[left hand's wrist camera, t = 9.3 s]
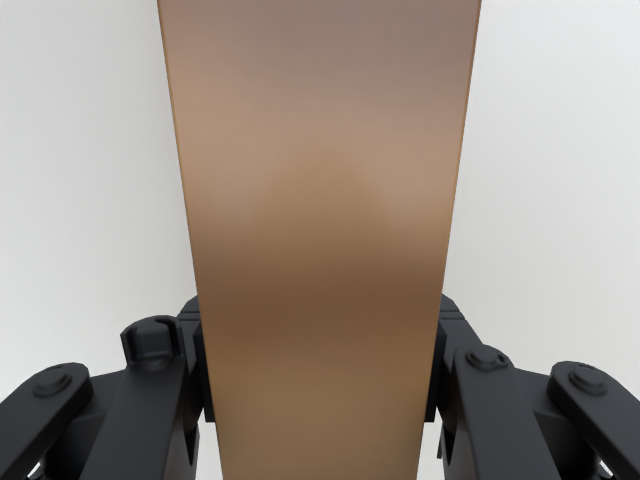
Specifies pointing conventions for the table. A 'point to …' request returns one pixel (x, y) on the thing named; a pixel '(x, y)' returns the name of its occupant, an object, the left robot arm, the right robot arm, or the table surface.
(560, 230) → the table surface
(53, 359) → the table surface
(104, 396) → the left robot arm
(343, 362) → the post
